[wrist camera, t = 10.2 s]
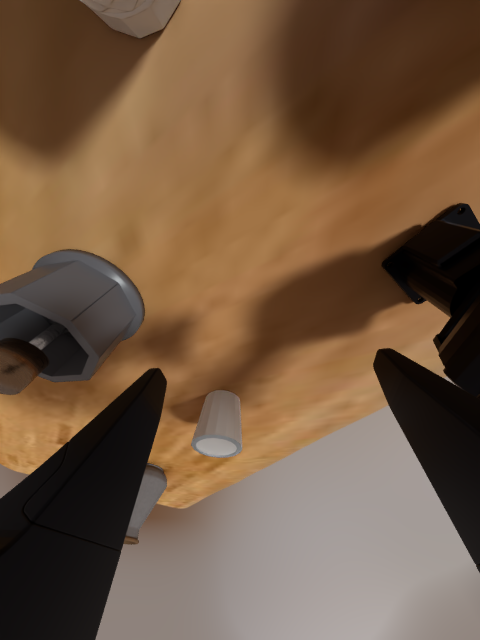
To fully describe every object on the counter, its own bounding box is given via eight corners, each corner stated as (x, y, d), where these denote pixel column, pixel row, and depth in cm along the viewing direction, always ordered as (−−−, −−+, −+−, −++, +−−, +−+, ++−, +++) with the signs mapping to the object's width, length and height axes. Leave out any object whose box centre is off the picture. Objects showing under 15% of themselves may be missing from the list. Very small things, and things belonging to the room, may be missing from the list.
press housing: (114, 241, 19) (47, 273, 13) (159, 333, 25) (129, 384, 19) (-1, 259, 20) (-108, 296, 14) (68, 341, 27) (14, 390, 21)
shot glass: (209, 382, 30) (199, 430, 25) (251, 395, 32) (250, 443, 26) (196, 405, 34) (185, 451, 28) (234, 416, 35) (230, 462, 30)
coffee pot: (133, 455, 48) (92, 551, 36) (177, 468, 51) (154, 560, 39) (111, 478, 59) (74, 558, 46) (149, 488, 62) (123, 564, 50)
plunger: (88, 276, 18) (-9, 337, 11) (124, 335, 22) (68, 406, 15) (24, 285, 19) (-102, 346, 12) (69, 340, 23) (-7, 409, 16)
